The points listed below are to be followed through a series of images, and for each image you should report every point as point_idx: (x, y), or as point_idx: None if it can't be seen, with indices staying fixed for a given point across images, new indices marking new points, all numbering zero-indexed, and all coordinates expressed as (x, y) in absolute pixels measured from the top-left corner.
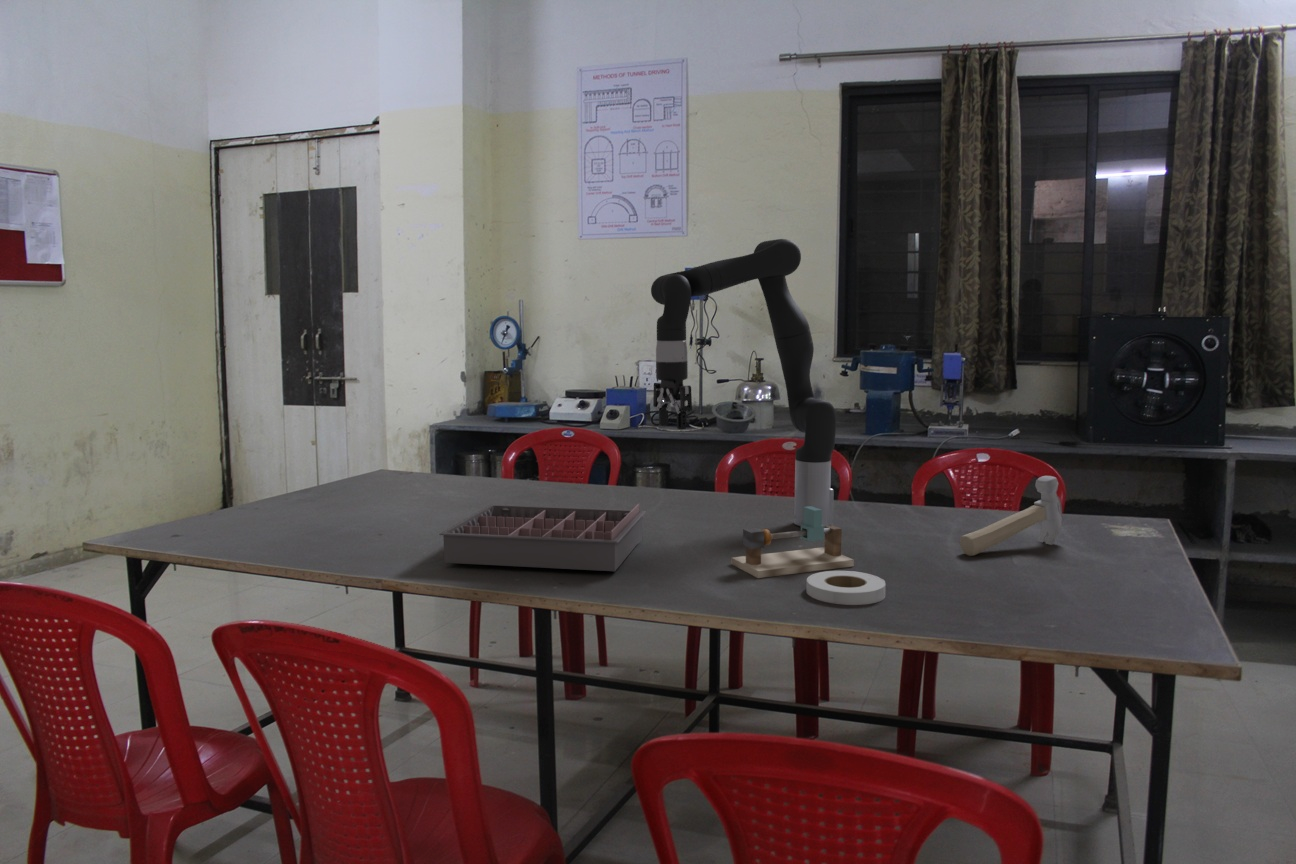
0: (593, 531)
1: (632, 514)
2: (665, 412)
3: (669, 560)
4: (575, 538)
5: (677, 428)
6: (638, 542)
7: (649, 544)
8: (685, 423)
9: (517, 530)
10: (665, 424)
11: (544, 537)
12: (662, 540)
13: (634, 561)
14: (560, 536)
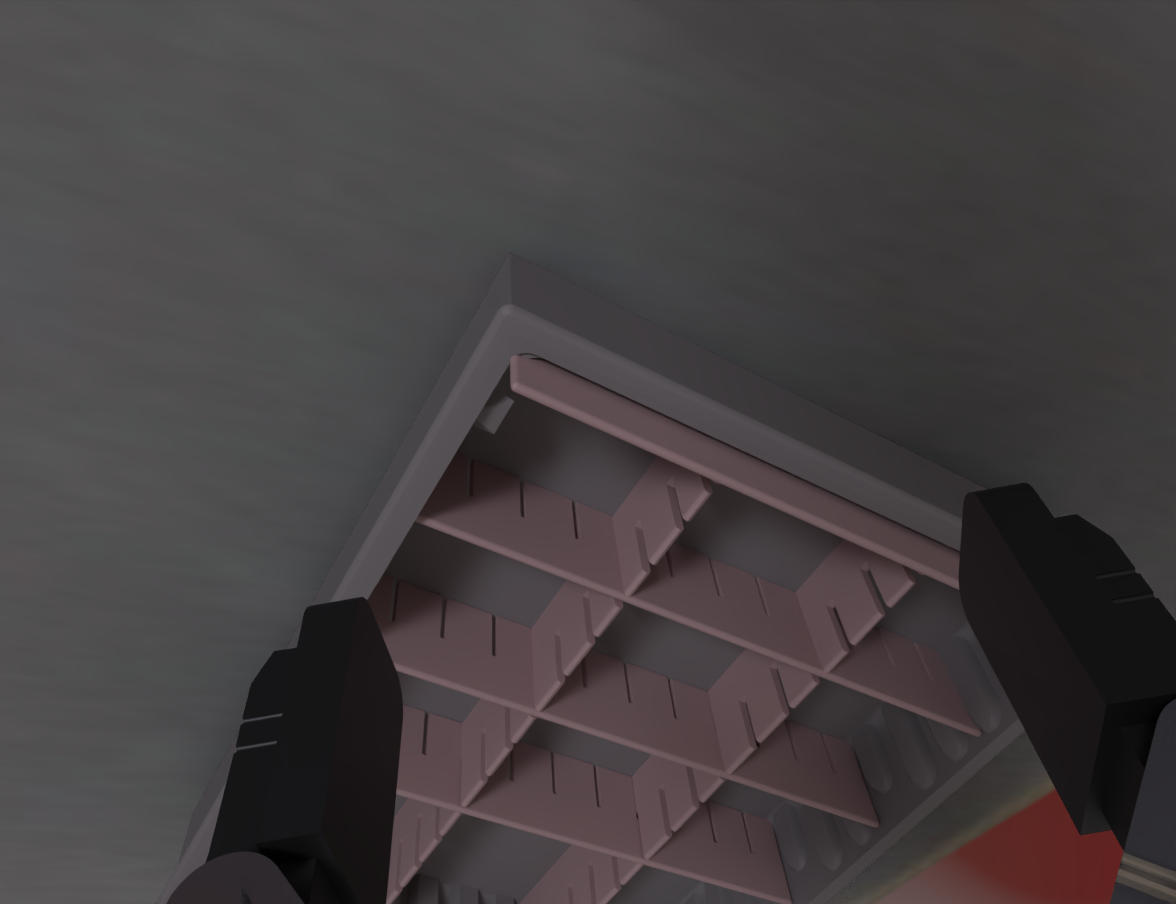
0: (696, 597)
1: (724, 463)
2: (345, 832)
3: (950, 220)
4: (994, 741)
5: (970, 602)
6: (622, 308)
7: (569, 215)
8: (1123, 569)
9: (676, 867)
10: (377, 638)
11: (908, 824)
12: (493, 104)
13: (875, 385)
14: (748, 727)
